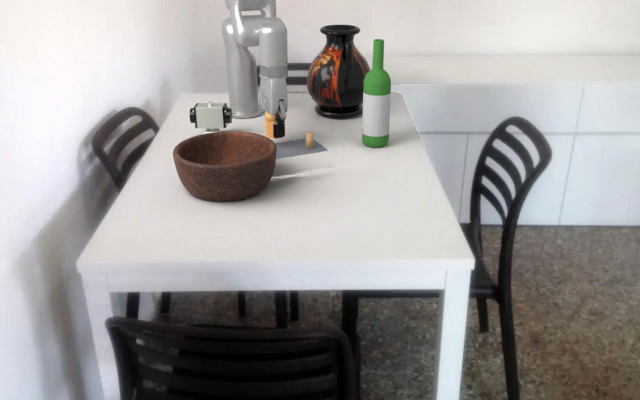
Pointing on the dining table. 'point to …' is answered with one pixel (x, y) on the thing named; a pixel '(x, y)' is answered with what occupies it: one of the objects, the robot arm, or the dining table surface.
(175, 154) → the wooden bowl
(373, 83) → the wine bottle
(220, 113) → the pneumatic valve
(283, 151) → the board
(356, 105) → the black vase
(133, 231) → the dining table surface
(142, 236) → the dining table surface
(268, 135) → the orange dome-topped faceted piece
